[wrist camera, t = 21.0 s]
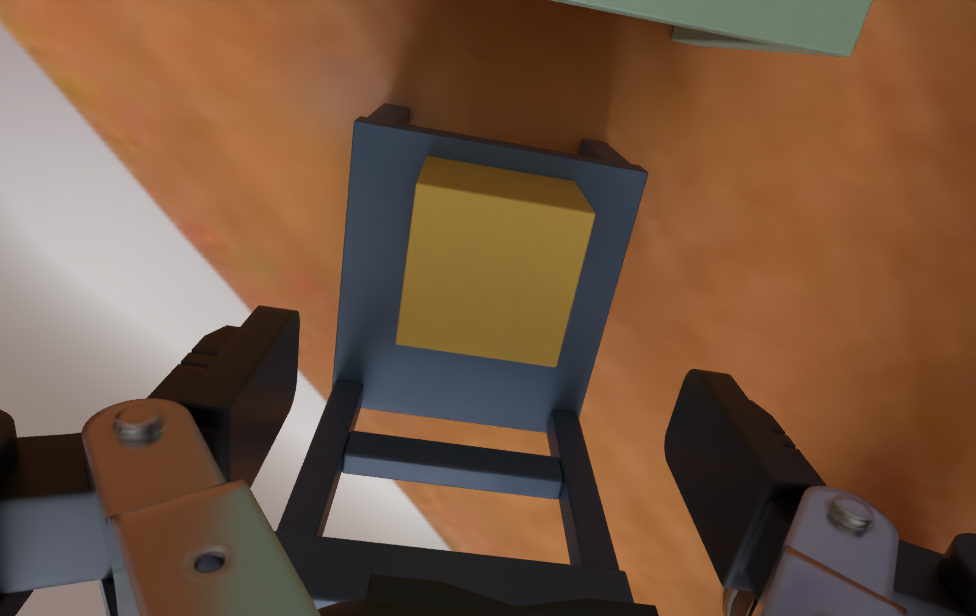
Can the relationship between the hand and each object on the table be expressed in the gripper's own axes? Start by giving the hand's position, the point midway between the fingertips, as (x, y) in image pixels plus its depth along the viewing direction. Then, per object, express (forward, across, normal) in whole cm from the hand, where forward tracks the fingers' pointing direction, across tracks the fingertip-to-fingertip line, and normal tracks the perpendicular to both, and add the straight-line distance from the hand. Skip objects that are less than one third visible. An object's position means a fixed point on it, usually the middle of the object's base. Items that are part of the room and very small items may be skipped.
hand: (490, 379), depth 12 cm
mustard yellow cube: (+8, 0, -1) cm, 8 cm away
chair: (+14, 0, +1) cm, 14 cm away
